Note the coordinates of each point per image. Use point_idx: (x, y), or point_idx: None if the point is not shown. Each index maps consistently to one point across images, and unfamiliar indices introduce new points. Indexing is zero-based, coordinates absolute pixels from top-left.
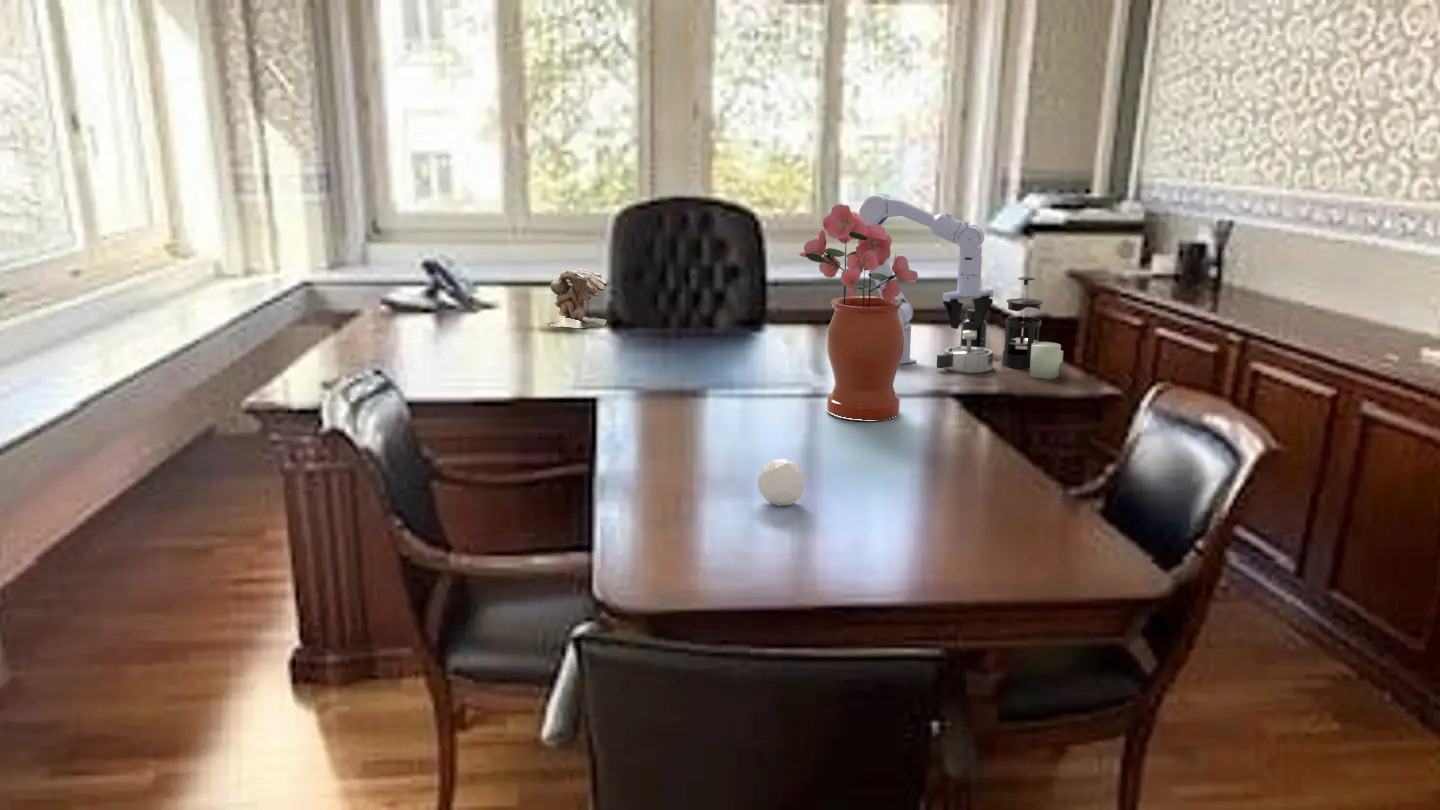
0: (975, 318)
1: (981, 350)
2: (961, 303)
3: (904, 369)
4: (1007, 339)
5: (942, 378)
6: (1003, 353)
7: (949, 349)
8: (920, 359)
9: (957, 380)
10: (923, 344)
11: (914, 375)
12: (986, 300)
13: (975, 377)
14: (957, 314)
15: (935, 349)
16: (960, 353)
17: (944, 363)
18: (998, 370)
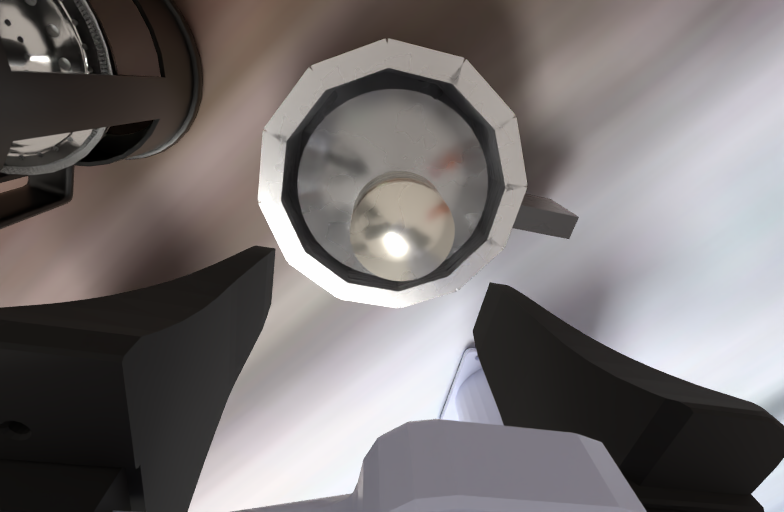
0: (254, 337)
1: (311, 169)
2: (711, 408)
3: (587, 301)
4: (107, 90)
5: (636, 103)
6: (157, 130)
7: (433, 279)
8: (412, 371)
9: (631, 24)
10: (233, 495)
11: (655, 215)
12: (130, 355)
13: (516, 9)
14: (588, 341)
15: (249, 439)
16: (466, 186)
17: (534, 199)
18: (300, 44)
